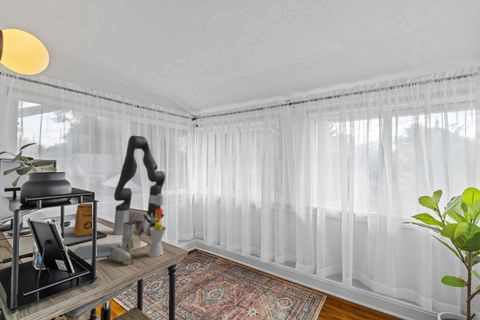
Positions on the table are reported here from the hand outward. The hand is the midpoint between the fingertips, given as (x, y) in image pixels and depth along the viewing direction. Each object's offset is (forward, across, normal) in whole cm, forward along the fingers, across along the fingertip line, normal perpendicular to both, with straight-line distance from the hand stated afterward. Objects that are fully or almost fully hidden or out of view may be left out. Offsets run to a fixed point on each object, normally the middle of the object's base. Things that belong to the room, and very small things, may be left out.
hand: (152, 228), depth 138 cm
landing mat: (+11, +29, 0) cm, 31 cm away
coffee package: (+11, +40, -36) cm, 55 cm away
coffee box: (+11, +12, 0) cm, 16 cm away
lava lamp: (+11, -1, +14) cm, 18 cm away
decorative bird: (+11, +18, +18) cm, 27 cm away
